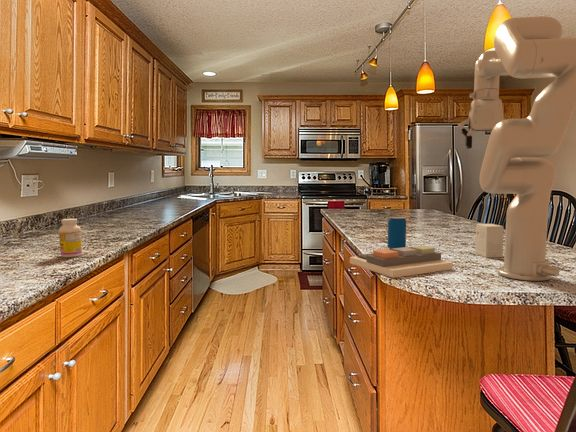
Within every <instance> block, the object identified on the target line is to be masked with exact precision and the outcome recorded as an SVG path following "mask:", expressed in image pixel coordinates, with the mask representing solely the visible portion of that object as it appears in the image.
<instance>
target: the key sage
mask: <svg viewBox="0 0 576 432" xmlns="http://www.w3.org/2000/svg"><path fill="white" fill-rule="evenodd" d="M409 248H411V249H415V250H417V254H422V255H423V254H431V253H435V252H436V250H435V247H431V246H428V245H427V246H426V245H413V246H409Z"/></svg>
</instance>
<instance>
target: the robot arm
mask: <svg viewBox="0 0 576 432" xmlns="http://www.w3.org/2000/svg"><path fill="white" fill-rule="evenodd" d="M562 35H563V27H562V25H561V22H560V21H559V20H557V19H556V18H554V17H551V16H542V15H541V16H525V17H524V16H523V17H511V18H510V17H509V18H508V19H505V21H503V22H502V23H500V25H499V26H498V28H497V30H496V32H495V34H494V40H493V47H494V50H486V51H483V52H482V54H480V56H479V57H478V58H477V60H476V62H475V64H474V80H473V81H474V85H473V87H474V89H473V93H469V94H468V95H469V96H468V97H469V98H471V99H472V101H471V103H470V108H469V112H468V118H467V119H465V120H463V121H461V122H460V123H457V128H459V130H460V132H461V134H462V135H463V136H464V138H465V141H464V142H465V144H464V145H465V147H466V149H468V150H469V149H472V147H473V136H472V135H473V133H474V132H490V135H489V138H488V142H487V145H486V149H485V153H484V157H483V160H482V163H481V168H480V172H479V181H478V182H479V186H480V188H481V190H482V191H484V192H485V193H487V194H492V195H493V194H501V195H502V194H503V195H504V194H505V195H506V194H507V195H508V194H509V195H511V194H513V195H516V196H515V197H514V198H512V200H511V202H510V203H509V205H508V207H507V208H506V209H507V210H506V217H505V218H506V219H505V233H504V234H505V237H504V239H505V241H504V254H503V257H504V259H503V266H499V267H498V268H497V269H496V270H497V271H496V272H497V274H498V275H500V276H503V277H505V278H509V279H515V280H521V281H528V282H529V281H533V282H535V281H536V282H539V281H540V282H541V281H543V282H544V281H549V280H551V279H552V277H555V278H557V277H559V274H560V268H558V267H553V266H552V267H551V266H550V263H551V261H549V260H546V256H547V253H546V252H547V239H548V238H547V237H548V223H549V222H548V221H549V220H548V219H549V210H550V202H551V201H550V198H551V194H552V190H553V186H554V184H555V179H556V169H555V166H554V163H552V162H551V161H550V160H548V159H546V157H550V156H553V155H554V154H556V153H557V152H558V150H559V149H560V148H561V145H562V142H563V140H564V138H565V136H566V133H567V132H568V131H567V130H568V128H569V125H570V123H571V120H572V118H573V115H574V112H575V110H576V37H562ZM500 76H510V77H512V78H515V79H542V78H543V79H544V78H545V79H546V78H555V79H554V81H552V82H550V83H549V84H548V85H547V86H546V87H544V88H543V90H541V92H540V93H539V94H538V95H537V96H536V97H535V99H534V101H533V104H532V107H531V110H530V113H529V115H528V116H527V117H525V118H507V119H506V118H505V117H504V109H503V108H504V107H503V102H502V99H500V98H499V95H500ZM465 125H467V128H468V130H467V129H466V128H465ZM544 157H545V158H544Z"/></svg>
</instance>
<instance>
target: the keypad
mask: <svg viewBox="0 0 576 432" xmlns="http://www.w3.org/2000/svg"><path fill="white" fill-rule="evenodd" d="M349 264H351V265H353V266H356V267H360V268H362V269H365V270H368V271H371V272H374V273H378V274H380V275H384V276H387V277H389V278H391V279H393V278H400V277H407V276H414V275H415V276H416V275H423V274H429V273H436V271H437V272H442V271H443V272H444V271H449V270H453V266H454V265H453V264H454V263H453V261H447V260H443V259H442V252H439V251H435V253H431V254H423V255H422V254H417V255H414V256H406V257H402V256H399V255H398V257H397V258H389V259H382V258H378V257H375V256H373V252H372V253H364V254H357V255H355V256H350V257H349Z"/></svg>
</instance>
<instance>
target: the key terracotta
mask: <svg viewBox="0 0 576 432" xmlns="http://www.w3.org/2000/svg"><path fill="white" fill-rule="evenodd" d="M372 253H373V256H375V257H378V258H382V259H389V258H397V257H398V252H396V251H392V250H390V249H389V248H387V249H386V248H385V249H375V250H372Z"/></svg>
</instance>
